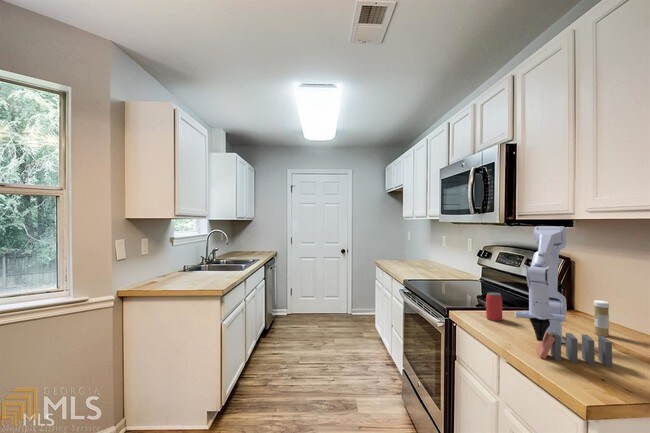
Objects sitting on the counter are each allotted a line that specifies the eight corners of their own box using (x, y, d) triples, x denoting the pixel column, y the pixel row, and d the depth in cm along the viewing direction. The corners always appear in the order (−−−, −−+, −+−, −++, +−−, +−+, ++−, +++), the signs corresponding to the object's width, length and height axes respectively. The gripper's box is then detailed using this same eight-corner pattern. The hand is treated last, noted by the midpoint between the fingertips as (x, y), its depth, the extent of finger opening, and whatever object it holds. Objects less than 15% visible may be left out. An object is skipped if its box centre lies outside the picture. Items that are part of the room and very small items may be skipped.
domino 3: (588, 364, 101) (588, 340, 101) (582, 357, 105) (581, 334, 105) (594, 365, 100) (594, 340, 100) (587, 358, 105) (587, 334, 105)
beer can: (499, 322, 140) (498, 296, 140) (484, 319, 145) (483, 293, 145) (504, 319, 144) (504, 293, 144) (489, 315, 149) (489, 290, 149)
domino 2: (571, 362, 102) (571, 338, 102) (566, 355, 107) (565, 332, 107) (577, 363, 102) (577, 339, 102) (571, 356, 106) (571, 333, 106)
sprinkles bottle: (594, 331, 127) (594, 299, 127) (609, 334, 124) (609, 301, 124) (593, 335, 124) (593, 301, 124) (609, 338, 121) (609, 303, 120)
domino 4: (605, 366, 99) (605, 341, 99) (598, 359, 104) (598, 335, 104) (612, 367, 99) (611, 342, 98) (604, 360, 103) (604, 336, 103)
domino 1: (555, 360, 104) (555, 336, 104) (550, 354, 109) (550, 331, 108) (561, 361, 103) (560, 337, 103) (555, 354, 108) (555, 331, 108)
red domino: (540, 352, 110) (550, 332, 108) (545, 359, 105) (555, 338, 104) (535, 350, 110) (545, 330, 109) (539, 356, 105) (549, 336, 104)
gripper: (517, 302, 106) (518, 341, 106) (568, 306, 101) (569, 347, 101) (513, 297, 113) (513, 334, 113) (560, 300, 108) (561, 339, 108)
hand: (539, 340), depth 107 cm, fingers closed
